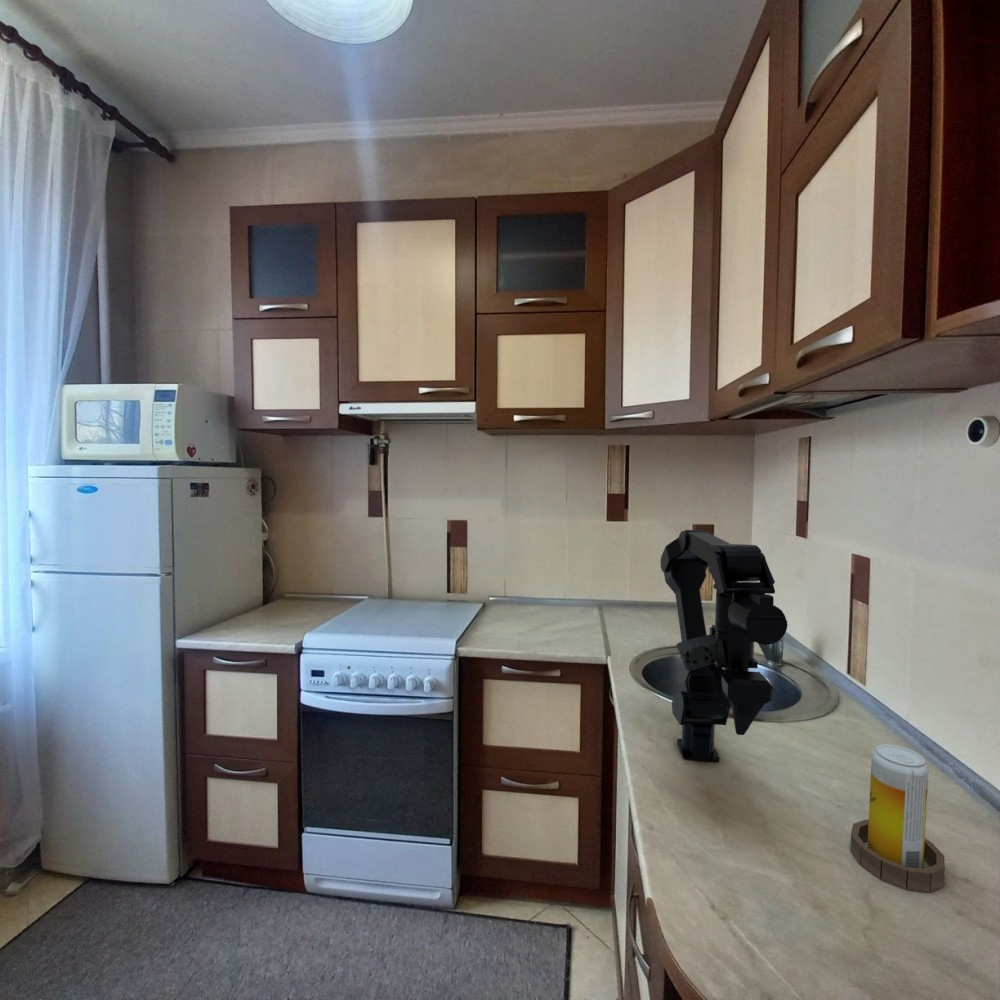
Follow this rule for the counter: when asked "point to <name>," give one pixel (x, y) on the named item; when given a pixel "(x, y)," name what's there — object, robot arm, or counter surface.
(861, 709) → the counter surface
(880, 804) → the beer can
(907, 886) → the collar
